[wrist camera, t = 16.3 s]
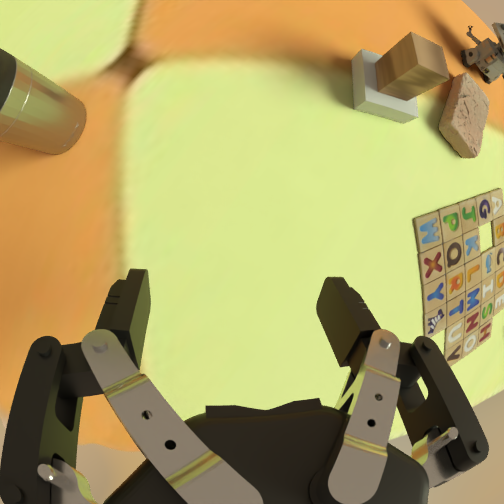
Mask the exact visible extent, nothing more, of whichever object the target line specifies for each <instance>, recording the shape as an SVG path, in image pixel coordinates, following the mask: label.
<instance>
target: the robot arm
mask: <svg viewBox="0 0 504 504" xmlns="http://www.w3.org/2000/svg"><path fill="white" fill-rule="evenodd" d="M85 122H86V110H85V107H84V105H83V103H82V102H81V101H80V100H79V99H77V98H76V97H74V96H73V95H71V94H70V93H68V92H67V91H66V90H64V89H63V88H61V87H60V86H58V85H57V84H55V83H54V82H52V81H51V80H49V79H48V78H46V77H45V76H43V75H42V74H40V73H39V72H37V71H36V70H34V69H33V68H31V67H30V66H28V65H26V64H25V63H23V62H22V61H20V60H19V59H17V58H15V57H14V56H12V55H11V54H9V53H7V52H6V51H4V50H2V49H0V141H1V142H6V143H10V144H14V145H18V146H22V147H26V148H30V149H34V150H37V151H41V152H45V153H49V154H54V155H56V154H61V153H63V152H65V151H67V150H68V149H70V148H71V147H72V146H73V145H74V144H75V143H76V141H77V140H78V139H79V137H80V135H81V134H82V131H83V129H84V126H85ZM150 305H151V298H150V288H149V278H148V270H147V269H130V270H129V273H128V276H127V278H126V280H120V279H118V280H117V281H116V282H115V283H114V284H113V285H112V286H111V288H110V290H109V293H108V297H107V298H106V301H105V304H104V306H103V309H102V311H101V314H100V317H99V319H98V322H97V325H96V328H95V330H94V331H91V332H89V333H88V334H87V335H86V336H85V337H84V338H83V340H82V342H79V343H74V344H67V345H61V344H60V342H59V341H58V340H57V339H56V338H54V337H52V336H44V337H41V338H38V339H37V340H36V341H34V343H33V344H32V345H31V347H30V350H29V352H28V355H27V358H26V361H25V363H24V366H23V369H22V372H21V375H20V378H19V382H18V385H17V388H16V392H15V395H14V399H13V403H12V406H11V410H10V415H9V419H8V424H7V428H6V434H5V439H4V445H3V452H2V458H1V466H0V497H1V499H2V501H3V503H4V504H97V502H96V501H95V500H94V499H93V497H92V495H91V492H90V486H89V483H88V481H87V479H86V478H85V477H84V476H83V475H82V474H81V473H80V472H79V471H77V470H76V454H77V443H78V433H79V424H80V416H81V409H82V402H83V397H85V396H93V395H99V394H104V395H105V397H106V399H107V401H108V402H109V404H110V406H111V407H112V409H113V411H114V412H115V414H116V415H117V417H118V419H119V420H120V422H121V423H122V425H123V426H124V428H125V429H126V431H127V432H128V434H129V435H130V437H131V438H132V440H133V441H134V443H135V444H136V445H137V447H138V448H139V449H140V451H141V452H142V453H143V455H144V456H145V457H146V460H145V461H144V462H143V463H142V464H141V465H140V466H139V467H138V468H137V469H136V470H135V471H134V472H133V473H132V474H131V475H130V476H129V477H128V478H127V479H126V480H125V481H124V482H123V483H122V484H121V486H119V488H117V489H116V490H115V491H114V492H113V493H112V494H111V495H110V496H109V497H108V498H107V499H106V500H105V501H104V503H103V504H427V502H428V493H429V489H430V488H432V487H437V486H439V485H441V484H443V483H445V482H447V481H449V480H451V479H453V478H455V477H457V476H458V475H461V474H462V473H464V472H466V471H467V470H469V469H471V468H473V467H474V466H476V465H478V464H479V463H481V462H482V461H484V460H485V459H486V457H487V455H488V451H489V445H488V442H487V439H486V437H485V435H484V432H483V430H482V428H481V426H480V424H479V422H478V419H477V417H476V415H475V413H474V411H473V409H472V407H471V405H470V403H469V401H468V399H467V397H466V395H465V393H464V391H463V390H462V388H461V386H460V384H459V382H458V380H457V379H456V377H455V375H454V373H453V371H452V370H451V368H450V366H449V364H448V363H447V361H446V359H445V358H444V356H443V354H442V353H441V351H440V349H439V348H438V346H437V345H436V343H435V342H434V341H433V340H432V339H430V338H428V337H426V336H419V337H417V338H416V339H415V341H414V342H413V344H410V343H404V342H400V341H399V339H398V338H397V336H396V335H394V334H393V333H392V332H390V331H388V330H384V329H381V328H380V326H379V324H378V323H377V321H376V320H375V318H374V316H373V315H372V313H371V311H370V310H369V309H368V307H367V305H366V304H365V303H364V300H363V299H362V297H361V296H360V294H359V293H358V292H356V291H355V290H354V289H353V288H352V287H349V286H348V284H347V282H346V281H345V279H344V278H343V277H327V278H326V279H325V281H324V284H323V287H322V290H321V292H320V295H319V298H318V301H317V305H316V310H317V315H318V317H319V319H320V322H321V324H322V326H323V329H324V331H325V333H326V335H327V338H328V340H329V342H330V345H331V347H332V349H333V352H334V354H335V357H336V359H337V361H338V364H339V366H340V367H345V366H350V368H351V370H350V371H349V373H348V375H347V378H346V381H345V383H344V386H343V389H342V391H341V394H340V396H339V399H338V401H337V403H336V405H335V407H334V408H332V407H328V406H323V405H321V402H320V399H319V398H316V399H308V400H300V401H293V402H290V403H287V404H285V405H282V406H279V407H276V408H273V409H270V410H260V409H253V408H247V407H242V406H236V405H230V406H206V413H203V414H199V415H196V416H193V417H191V418H189V419H187V420H185V421H183V420H182V419H181V418H180V417H179V416H178V415H177V413H176V412H175V411H174V410H173V409H172V407H171V406H170V405H169V404H168V402H167V401H166V400H165V399H164V398H163V396H162V395H161V394H160V392H159V391H158V390H157V389H156V387H155V386H154V385H153V383H152V382H151V381H150V379H149V378H148V377H147V376H146V375H145V374H141V373H140V372H139V370H140V364H141V358H142V352H143V346H144V340H145V334H146V329H147V324H148V318H149V313H150ZM420 377H422V379H423V381H424V383H425V385H426V387H427V389H428V397H427V399H426V400H425V398H424V396H423V394H422V392H421V389H420V387H419V385H418V383H417V380H418V379H419V378H420ZM396 405H397V408H398V410H399V413H400V415H401V418H402V421H403V423H404V426H405V428H406V431H407V434H408V436H409V439H410V441H411V444H412V447H413V448H412V455H411V456H408V455H406V454H404V453H403V452H402V451H400V450H399V449H397V448H396V447H394V446H392V445H391V444H389V443H388V439H389V435H390V431H391V427H392V423H393V419H394V414H395V410H396Z"/></svg>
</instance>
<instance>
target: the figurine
mask: <svg viewBox="0 0 504 504" xmlns="http://www.w3.org/2000/svg"><path fill="white" fill-rule="evenodd" d="M492 26H493V28H494V31H495V33H496V35H497V38H498V40H499V43H498V44H496V43H495V42H492V41H491V40H490V39H489V38H487V39H485V40H484V41H483V42H481V41H480V40H478V39H477V38H476V37H475V36H473V35H472V33H471V28H472V27H473V26H471V28H470V26H468V27H469V29H470V30H469V32H467V36H469V37H471V38H472V40H473V41H474V42H476V44H477V45H478V46H476V47H475V48H470V49H467V50H463V51H461V55H462V56H461V57H462V58H463V60H462V61H463V64H464V66H466V67H467V68H469V67H470V66H471V65H472V64H474V63H476V65H477V66H478V67H479V69H480V70H481V71H482V72H483V73H484V78H485V79H484V80H485V81H486V82H487V83H488V84H490V83H491V82H492V81H494V80H496V79H497V78H498V77H499V76H500V74H503V78H504V24H501V23H494V24H492Z"/></svg>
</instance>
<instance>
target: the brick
mask: <svg viewBox="0 0 504 504" xmlns="http://www.w3.org/2000/svg"><path fill="white" fill-rule="evenodd" d="M451 88H452V89H451V90H450V92H449V96H448V99H447V101H446V104H445V105H446V106H445V107H444V110H443V113H442V116H441V119H440V123H439V126H438V127H439V130H440V131H441V133H442V135H443V136H444V138H445V139H446V140H447V141H448V142H449V143H450V144H451V145H452V147H453V149H454V150H456V151H457V152H458V153H459V155H460V156H461V157H463V158H475V157H476V156H478V154H479V152H480V148H481V143H482V136H483V130H484V127H485V124H486V120H487V115H488V110H489V100H488V98H487V96H486V95H485V93H484V92H483V90H481V89H480V87H479V86H478V84H476V83H475V81H474V80H473V79H472V78H471V77H470V76H469V74H467V73H463V74H462V75H460V74H459V75H458V76H456V77H454V79H453V81H452V86H451Z"/></svg>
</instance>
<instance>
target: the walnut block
mask: <svg viewBox="0 0 504 504" xmlns="http://www.w3.org/2000/svg"><path fill="white" fill-rule="evenodd" d="M375 70H376V79H377V89H378V92H379V93H383V94H386V95H389V96H392V97H395V98H398V99H401V100H404V101H408V100H410V99H412V98H414V97H416V96H418V95H420V94H422V93H424V92H426V91H428V90H430V89H432V88H434V87H436V86H438V85H440V84H442V83H444V82H446V81H448V80H450V78H449V73H448V69H447V64H446V60H445V56H444V53H443V49H442V47H441V46H439V45H437V44H435V43H433V42H431V41H429V40H427V39H425V38H423V37H421V36H419V35H417V34H415V33H413V32H410V33H409V34H408V35H406V36H405V37H404V38H403V39H402V40H401V41H399V42H398V43H397V44H396V45H395V46H394V47H392V48H391V49H390V50H389V51H388V52H387V53H386V54H384V55H383V56H382V57H381V58H380V59H379V60H378V61H377V62H375Z"/></svg>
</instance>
